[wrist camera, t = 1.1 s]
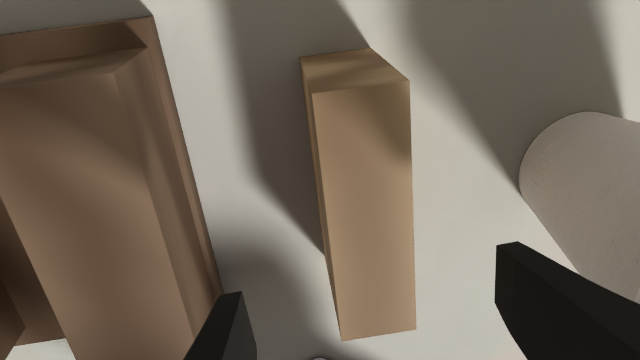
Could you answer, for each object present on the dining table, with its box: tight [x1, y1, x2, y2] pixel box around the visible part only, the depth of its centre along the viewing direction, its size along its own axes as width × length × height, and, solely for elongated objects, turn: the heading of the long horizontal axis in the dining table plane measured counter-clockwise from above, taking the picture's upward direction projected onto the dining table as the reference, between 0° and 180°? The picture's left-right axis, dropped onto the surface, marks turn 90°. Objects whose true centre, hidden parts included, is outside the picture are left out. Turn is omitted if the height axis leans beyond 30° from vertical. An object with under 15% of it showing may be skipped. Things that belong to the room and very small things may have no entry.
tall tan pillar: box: [299, 48, 416, 341], centre depth 19 cm, size 3×10×6 cm, turn 6°
